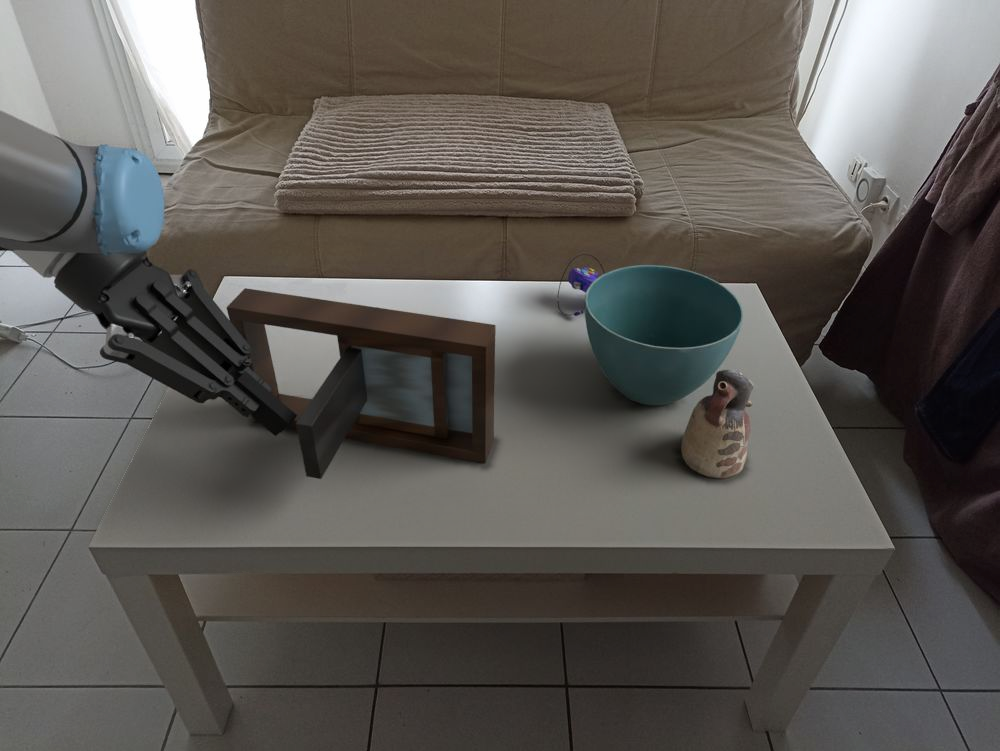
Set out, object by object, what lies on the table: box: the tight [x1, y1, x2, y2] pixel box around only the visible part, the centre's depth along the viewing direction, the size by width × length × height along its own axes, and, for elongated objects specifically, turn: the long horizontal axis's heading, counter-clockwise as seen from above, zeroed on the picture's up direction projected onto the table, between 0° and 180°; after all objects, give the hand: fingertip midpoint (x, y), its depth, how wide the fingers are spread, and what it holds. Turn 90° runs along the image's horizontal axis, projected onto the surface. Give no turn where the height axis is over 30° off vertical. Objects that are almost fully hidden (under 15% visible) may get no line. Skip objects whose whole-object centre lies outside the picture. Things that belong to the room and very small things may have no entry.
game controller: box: [557, 253, 606, 317], centre depth 108 cm, size 10×8×10 cm
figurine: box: [680, 369, 755, 479], centre depth 81 cm, size 7×7×12 cm
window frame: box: [226, 287, 497, 464], centre depth 82 cm, size 28×4×16 cm, turn 77°
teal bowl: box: [584, 264, 744, 407], centre depth 91 cm, size 18×18×12 cm
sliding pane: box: [296, 336, 449, 480], centre depth 77 cm, size 12×13×12 cm
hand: (286, 425), depth 74 cm, fingers closed
